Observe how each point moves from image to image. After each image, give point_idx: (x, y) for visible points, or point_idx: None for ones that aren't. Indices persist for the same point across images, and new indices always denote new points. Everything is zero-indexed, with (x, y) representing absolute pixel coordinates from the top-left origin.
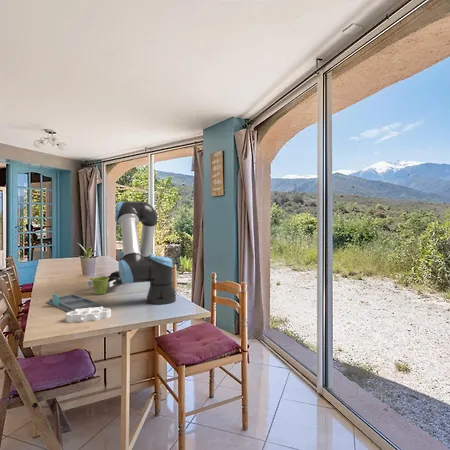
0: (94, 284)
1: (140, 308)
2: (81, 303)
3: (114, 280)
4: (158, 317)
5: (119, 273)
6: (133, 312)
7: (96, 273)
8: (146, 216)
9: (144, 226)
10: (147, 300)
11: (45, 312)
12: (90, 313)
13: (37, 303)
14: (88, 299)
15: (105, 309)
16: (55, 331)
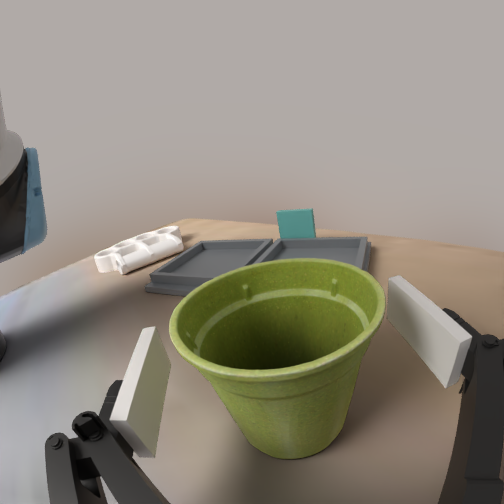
0: (299, 306)
1: (34, 310)
2: (219, 271)
3: (119, 391)
4: (19, 291)
5: (43, 204)
6: (53, 292)
7: None
8: None
9: None
10: (3, 337)
11: (270, 234)
12: (129, 239)
13: (386, 238)
14: (204, 275)
15: (107, 257)
16: None
